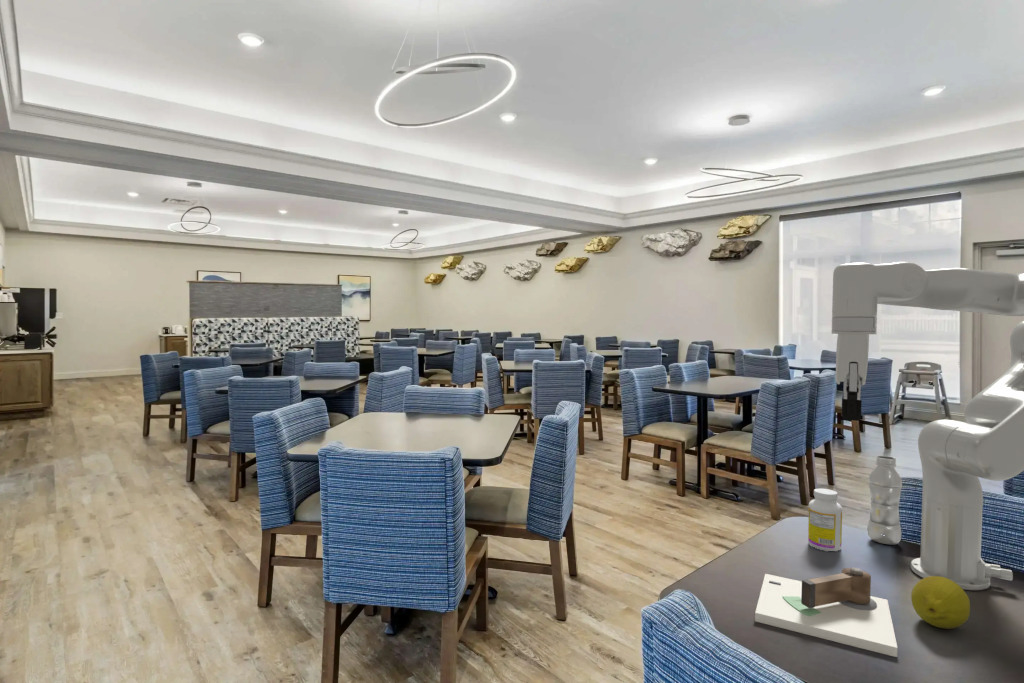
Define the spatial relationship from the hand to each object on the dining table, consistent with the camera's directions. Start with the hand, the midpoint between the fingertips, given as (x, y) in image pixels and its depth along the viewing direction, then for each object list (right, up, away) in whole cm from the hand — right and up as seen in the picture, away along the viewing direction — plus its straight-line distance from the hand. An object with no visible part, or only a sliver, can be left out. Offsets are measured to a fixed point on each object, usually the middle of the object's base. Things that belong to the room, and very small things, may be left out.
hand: (851, 419), depth 109 cm
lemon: (+5, -33, -16) cm, 37 cm away
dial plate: (-13, -32, -13) cm, 37 cm away
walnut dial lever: (-10, -30, -12) cm, 34 cm away
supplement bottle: (+4, -32, +17) cm, 36 cm away
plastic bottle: (+20, -32, +20) cm, 42 cm away
